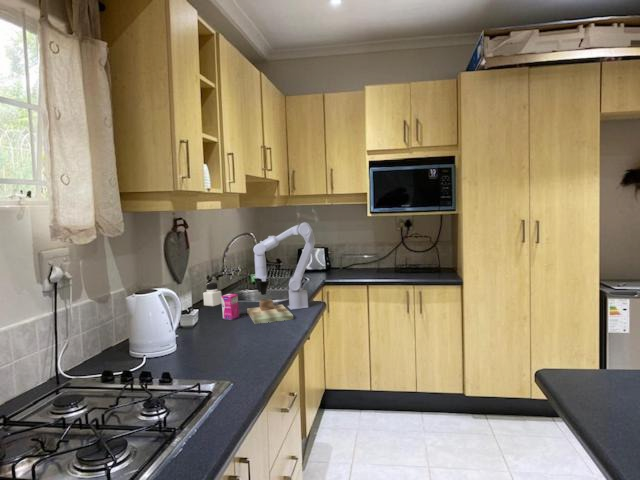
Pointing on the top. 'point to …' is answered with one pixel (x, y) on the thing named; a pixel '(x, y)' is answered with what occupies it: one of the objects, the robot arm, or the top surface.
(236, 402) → the top surface
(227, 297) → the supplement box
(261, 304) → the walnut block
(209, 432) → the top surface
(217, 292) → the medicine bottle
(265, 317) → the trap deck
